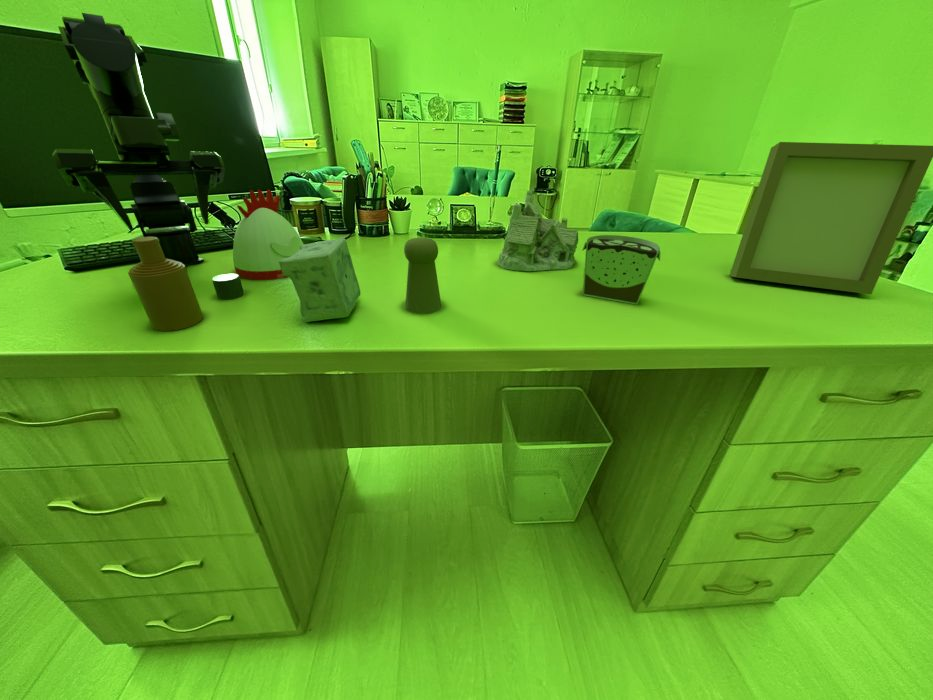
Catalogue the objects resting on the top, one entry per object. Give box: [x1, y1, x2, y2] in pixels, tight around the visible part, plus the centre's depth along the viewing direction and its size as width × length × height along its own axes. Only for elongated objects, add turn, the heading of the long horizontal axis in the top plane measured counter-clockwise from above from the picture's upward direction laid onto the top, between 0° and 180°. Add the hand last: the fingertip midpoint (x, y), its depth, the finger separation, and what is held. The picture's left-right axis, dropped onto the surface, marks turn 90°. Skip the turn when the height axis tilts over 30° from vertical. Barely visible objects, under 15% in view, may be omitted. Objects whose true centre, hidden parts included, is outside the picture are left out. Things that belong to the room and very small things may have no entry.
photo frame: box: [729, 141, 933, 295], centre depth 72 cm, size 15×22×25 cm
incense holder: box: [279, 237, 361, 323], centre depth 56 cm, size 10×8×10 cm
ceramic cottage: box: [497, 190, 579, 272], centre depth 80 cm, size 16×16×15 cm
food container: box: [582, 234, 662, 305], centre depth 65 cm, size 12×6×10 cm, turn 65°
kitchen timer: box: [232, 189, 304, 281], centre depth 72 cm, size 14×14×15 cm
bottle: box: [127, 236, 204, 332], centre depth 51 cm, size 6×6×12 cm
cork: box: [403, 237, 443, 315], centre depth 58 cm, size 6×6×11 cm
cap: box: [211, 273, 245, 300], centre depth 62 cm, size 4×4×3 cm
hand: (171, 226), depth 55 cm, fingers open, 9 cm apart
